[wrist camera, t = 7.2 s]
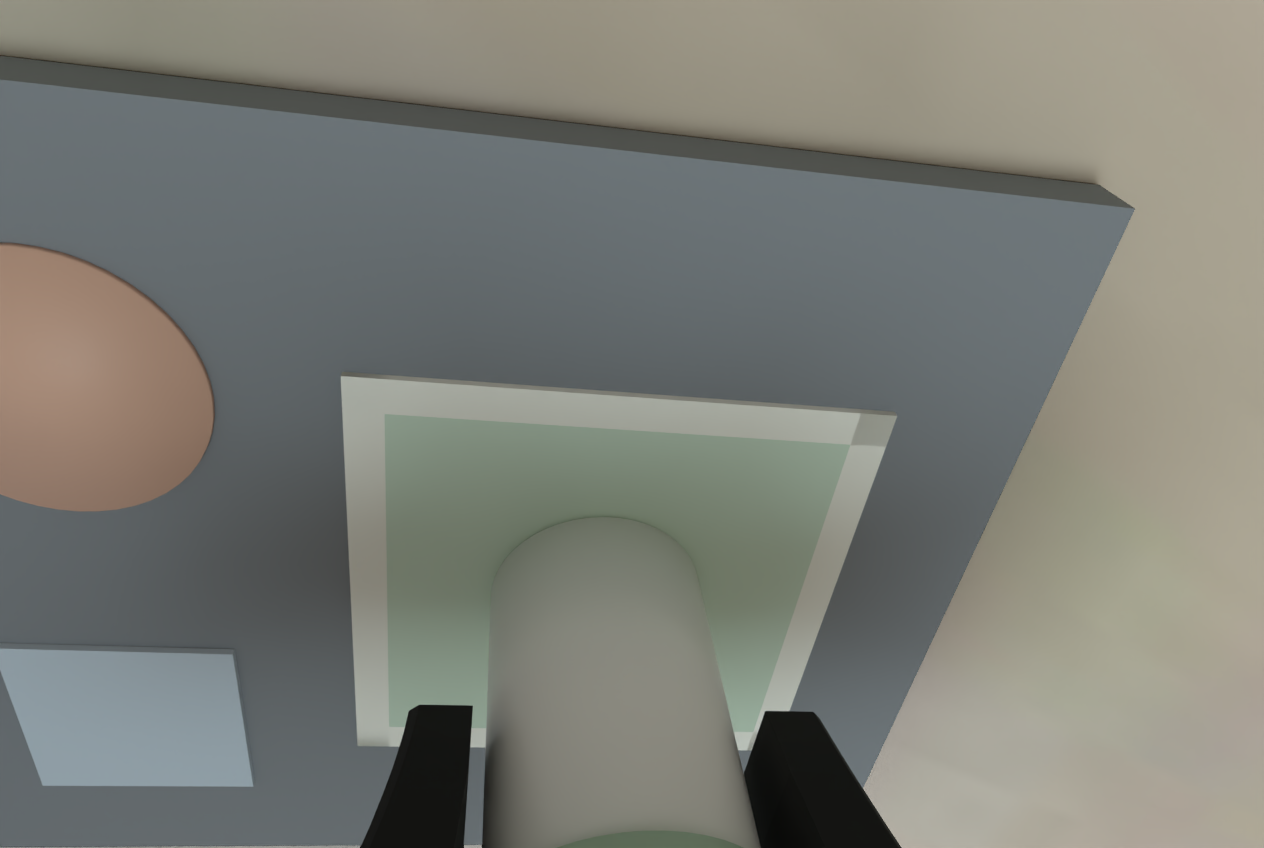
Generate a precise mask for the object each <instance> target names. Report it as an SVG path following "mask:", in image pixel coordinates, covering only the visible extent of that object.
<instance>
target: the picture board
mask: <svg viewBox="0 0 1264 848" xmlns="http://www.w3.org/2000/svg"><path fill="white" fill-rule="evenodd" d="M1134 210H1135V208H1133V207H1132V206H1130V205H1129V204H1127V203H1126V202H1124V201H1123V200H1121V199H1120V198H1118V197H1117V196H1115V195H1114V194H1112V193H1110V192H1109V191H1107V190H1106V189H1104V188H1103V187H1101V186H1100V185H1095V184H1086V183H1078V182H1069V181H1061V180H1052V179H1044V178H1035V177H1027V176H1018V175H1010V174H1001V173H993V172H984V171H976V170H967V169H959V168H950V167H942V166H933V165H925V164H916V163H908V162H899V161H891V160H882V159H874V158H865V157H857V156H848V155H840V154H831V153H823V152H814V151H806V150H797V149H789V148H780V147H772V146H763V145H755V144H746V143H738V142H729V141H721V140H712V139H704V138H695V137H687V136H678V135H670V134H661V133H653V132H644V131H636V130H627V129H618V128H610V127H601V126H593V125H584V124H576V123H567V122H559V121H550V120H542V119H533V118H525V117H516V116H508V115H499V114H491V113H482V112H474V111H465V110H457V109H448V108H440V107H431V106H423V105H414V104H406V103H397V102H389V101H380V100H372V99H363V98H355V97H346V96H338V95H329V94H321V93H312V92H304V91H295V90H287V89H278V88H270V87H261V86H253V85H244V84H236V83H227V82H219V81H210V80H202V79H193V78H185V77H176V76H168V75H159V74H151V73H142V72H134V71H125V70H117V69H108V68H100V67H91V66H83V65H74V64H66V63H57V62H49V61H40V60H32V59H23V58H15V57H6V56H0V847H125V846H317V845H362V842H363V840H364V838H365V836H366V834H367V831H368V829H369V827H370V824H371V822H372V820H373V817H374V815H375V812H376V810H377V807H378V805H379V802H380V800H381V797H382V795H383V792H384V790H385V787H386V784H387V781H388V779H389V776H390V773H391V770H392V768H393V765H394V762H395V759H396V756H397V753H398V749H399V746H400V743H401V740H402V736H403V733H404V729H405V725H406V721H407V716H408V712H409V711H410V710H411V709H413V708H414V707H416V706H418V705H470V706H473V712H472V728H471V743H470V759H469V774H468V790H467V805H466V820H465V835H464V845H482V833H483V804H484V776H485V747H486V719H487V690H488V661H489V633H490V604H491V590H492V585H493V581H494V578H495V576H496V574H497V572H498V569H499V567H500V566H501V565H502V563H503V562H504V560H505V559H506V558H507V556H508V555H509V554H510V553H511V552H512V551H513V550H514V549H515V548H516V547H518V546H519V545H520V544H521V543H522V542H524V541H525V540H527V539H528V538H530V537H531V536H533V535H535V534H536V533H538V532H540V531H543V530H545V529H547V528H549V527H552V526H555V525H557V524H560V523H564V522H568V521H572V520H576V519H583V518H591V517H613V518H623V519H629V520H634V521H637V522H641V523H644V524H647V525H650V526H652V527H654V528H657V529H659V530H660V531H662V532H664V533H666V534H667V535H669V536H670V537H671V538H673V539H674V540H675V541H677V542H678V543H679V544H680V545H681V546H682V547H683V548H684V549H685V551H686V552H687V554H688V555H689V556H690V558H691V560H692V562H693V564H694V566H695V569H696V573H697V577H698V581H699V585H700V589H701V594H702V598H703V602H704V607H705V611H706V615H707V619H708V624H709V628H710V632H711V636H712V641H713V645H714V649H715V654H716V658H717V662H718V666H719V671H720V675H721V679H722V683H723V688H724V692H725V696H726V701H727V705H728V709H729V713H730V718H731V722H732V726H733V731H734V735H735V739H736V743H737V748H738V752H739V756H740V760H741V765H742V769H743V773H744V771H745V769H746V766H747V763H748V760H749V757H750V754H751V751H752V748H753V745H754V742H755V739H756V736H757V733H758V731H759V728H760V725H761V722H762V719H763V716H764V713H765V711H802V712H814V713H815V714H816V715H817V716H818V717H819V718H820V720H821V722H822V723H823V725H824V726H825V728H826V730H827V731H828V733H829V735H830V736H831V738H832V740H833V741H834V743H835V745H836V746H837V748H838V749H839V751H840V753H841V754H842V756H843V758H844V759H845V761H846V762H847V764H848V766H849V767H850V769H851V771H852V772H853V774H854V775H855V777H856V779H857V780H858V782H859V783H860V785H861V786H862V788H863V787H864V785H865V782H866V780H867V778H868V776H869V774H870V772H871V770H872V768H873V765H874V763H875V761H876V759H877V757H878V755H879V753H880V750H881V748H882V746H883V744H884V742H885V740H886V738H887V736H888V733H889V731H890V729H891V727H892V725H893V723H894V721H895V719H896V716H897V714H898V712H899V710H900V708H901V706H902V704H903V702H904V699H905V697H906V695H907V693H908V691H909V689H910V687H911V684H912V682H913V680H914V678H915V676H916V674H917V672H918V670H919V667H920V665H921V663H922V661H923V659H924V657H925V655H926V653H927V650H928V648H929V646H930V644H931V642H932V640H933V638H934V636H935V633H936V631H937V629H938V627H939V625H940V623H941V621H942V618H943V616H944V614H945V612H946V610H947V608H948V606H949V604H950V601H951V599H952V597H953V595H954V593H955V591H956V589H957V587H958V584H959V582H960V580H961V578H962V576H963V574H964V572H965V570H966V567H967V565H968V563H969V561H970V559H971V557H972V555H973V552H974V550H975V548H976V546H977V544H978V542H979V540H980V538H981V535H982V533H983V531H984V529H985V527H986V525H987V523H988V521H989V518H990V516H991V514H992V512H993V510H994V508H995V506H996V504H997V501H998V499H999V497H1000V495H1001V493H1002V491H1003V489H1004V486H1005V484H1006V482H1007V480H1008V478H1009V476H1010V474H1011V472H1012V469H1013V467H1014V465H1015V463H1016V461H1017V459H1018V457H1019V455H1020V452H1021V450H1022V448H1023V446H1024V444H1025V442H1026V440H1027V438H1028V435H1029V433H1030V431H1031V429H1032V427H1033V425H1034V423H1035V420H1036V418H1037V416H1038V414H1039V412H1040V410H1041V408H1042V406H1043V403H1044V401H1045V399H1046V397H1047V395H1048V393H1049V391H1050V389H1051V386H1052V384H1053V382H1054V380H1055V378H1056V376H1057V374H1058V372H1059V369H1060V367H1061V365H1062V363H1063V361H1064V359H1065V357H1066V354H1067V352H1068V350H1069V348H1070V346H1071V344H1072V342H1073V340H1074V337H1075V335H1076V333H1077V331H1078V329H1079V327H1080V325H1081V323H1082V320H1083V318H1084V316H1085V314H1086V312H1087V310H1088V308H1089V306H1090V303H1091V301H1092V299H1093V297H1094V295H1095V293H1096V291H1097V288H1098V286H1099V284H1100V282H1101V280H1102V278H1103V276H1104V274H1105V271H1106V269H1107V267H1108V265H1109V263H1110V261H1111V259H1112V257H1113V254H1114V252H1115V250H1116V248H1117V246H1118V244H1119V242H1120V239H1121V237H1122V235H1123V233H1124V231H1125V229H1126V227H1127V225H1128V222H1129V220H1130V218H1131V216H1132V214H1133V212H1134Z"/></svg>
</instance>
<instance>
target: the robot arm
mask: <svg viewBox="0 0 1264 848" xmlns="http://www.w3.org/2000/svg"><path fill="white" fill-rule="evenodd" d="M472 712H473V706H470V705H418V706H416V707H414V708H413V709H411V710H410V711H409V712H408V716H407V721H406V725H405V729H404V733H403V736H402V740H401V743H400V746H399V749H398V753H397V756H396V759H395V762H394V765H393V768H392V770H391V773H390V776H389V779H388V781H387V784H386V787H385V790H384V792H383V795H382V797H381V800H380V802H379V805H378V807H377V810H376V812H375V815H374V817H373V820H372V822H371V824H370V827H369V829H368V831H367V834H366V836H365V838H364V840H363V842H362V845H361V847H360V848H464V835H465V820H466V805H467V790H468V774H469V759H470V743H471V728H472ZM744 778H745V782H746V786H747V790H748V795H749V799H750V803H751V807H752V812H753V816H754V820H755V825H756V829H757V833H758V837H759V842H760V846H761V848H901V846H900V845H899V843H898V842H897V840H896V839H895V837H894V836H893V834H892V833H891V831H890V830H889V828H888V827H887V825H886V824H885V822H884V821H883V819H882V818H881V816H880V815H879V813H878V811H877V810H876V808H875V807H874V805H873V804H872V802H871V801H870V799H869V797H868V796H867V794H866V793H865V791H864V790H863V788H862V786H861V785H860V783H859V782H858V780H857V779H856V777H855V775H854V774H853V772H852V771H851V769H850V767H849V766H848V764H847V762H846V761H845V759H844V758H843V756H842V754H841V753H840V751H839V749H838V748H837V746H836V745H835V743H834V741H833V740H832V738H831V736H830V735H829V733H828V731H827V730H826V728H825V726H824V725H823V723H822V722H821V720H820V718H819V717H818V716H817V715H816V714H815V713H814V712H802V711H765V713H764V716H763V719H762V722H761V725H760V728H759V731H758V733H757V736H756V739H755V742H754V745H753V748H752V751H751V754H750V757H749V760H748V763H747V766H746V769H745V771H744Z"/></svg>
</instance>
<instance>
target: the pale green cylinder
mask: <svg viewBox="0 0 1264 848" xmlns="http://www.w3.org/2000/svg"><path fill="white" fill-rule="evenodd" d="M482 848H761V846H760V842H759V837H758V833H757V829H756V825H755V820H754V816H753V812H752V807H751V803H750V799H749V795H748V790H747V786H746V782H745V778H744V773H743V769H742V765H741V760H740V756H739V752H738V748H737V743H736V739H735V735H734V731H733V726H732V722H731V718H730V713H729V709H728V705H727V701H726V696H725V692H724V688H723V683H722V679H721V675H720V671H719V666H718V662H717V658H716V654H715V649H714V645H713V641H712V636H711V632H710V628H709V624H708V619H707V615H706V611H705V607H704V602H703V598H702V594H701V589H700V585H699V581H698V577H697V573H696V569H695V566H694V564H693V562H692V560H691V558H690V556H689V555H688V554H687V552H686V551H685V549H684V548H683V547H682V546H681V545H680V544H679V543H678V542H677V541H675V540H674V539H673V538H671V537H670V536H669V535H667V534H666V533H664V532H662V531H660V530H659V529H657V528H654V527H652V526H650V525H647V524H644V523H641V522H637V521H634V520H629V519H623V518H613V517H591V518H583V519H576V520H572V521H568V522H564V523H560V524H557V525H555V526H552V527H549V528H547V529H545V530H543V531H540V532H538V533H536V534H535V535H533V536H531V537H530V538H528V539H527V540H525V541H524V542H522V543H521V544H520V545H519V546H518V547H516V548H515V549H514V550H513V551H512V552H511V553H510V554H509V555H508V556H507V558H506V559H505V560H504V562H503V563H502V565H501V566H500V567H499V569H498V572H497V574H496V576H495V578H494V581H493V585H492V590H491V604H490V633H489V661H488V690H487V719H486V747H485V776H484V804H483V833H482Z"/></svg>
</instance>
